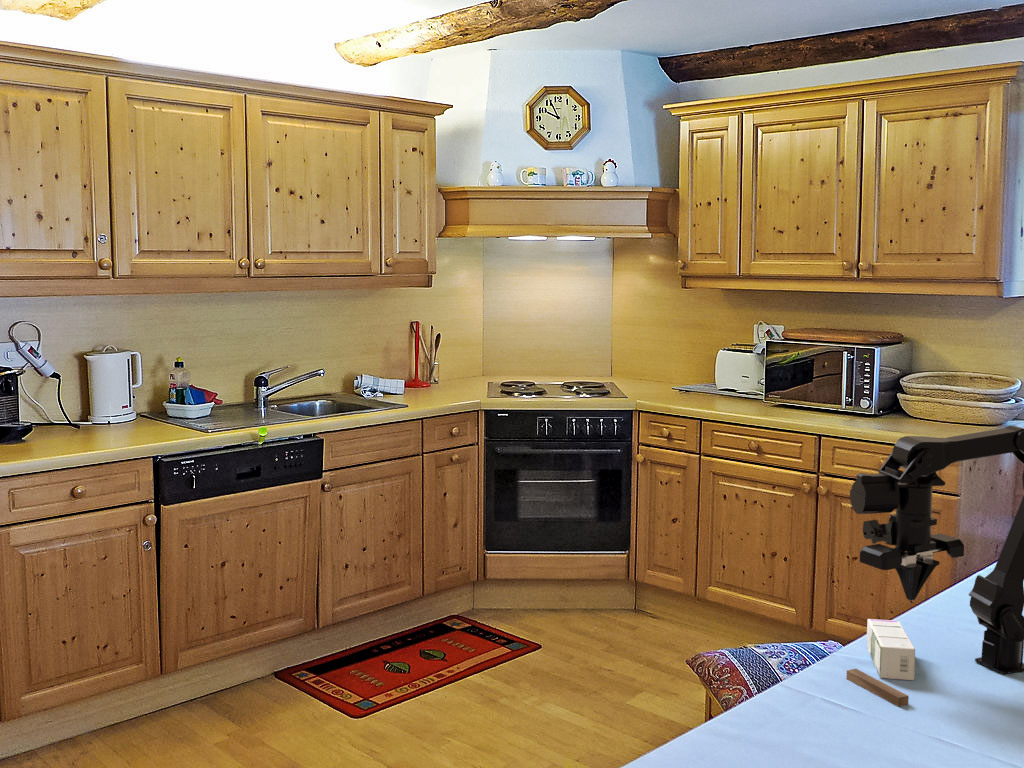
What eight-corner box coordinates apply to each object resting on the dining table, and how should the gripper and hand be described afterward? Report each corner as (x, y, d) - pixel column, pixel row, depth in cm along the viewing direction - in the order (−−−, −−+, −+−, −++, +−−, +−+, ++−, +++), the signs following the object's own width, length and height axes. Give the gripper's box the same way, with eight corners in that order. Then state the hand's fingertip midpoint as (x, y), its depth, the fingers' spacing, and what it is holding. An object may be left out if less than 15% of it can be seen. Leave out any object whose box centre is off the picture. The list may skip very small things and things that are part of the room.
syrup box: (916, 648, 175) (901, 619, 189) (879, 646, 176) (867, 617, 190) (914, 681, 175) (899, 650, 189) (878, 678, 176) (865, 647, 190)
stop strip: (855, 677, 177) (856, 668, 177) (908, 704, 166) (908, 695, 166) (846, 678, 176) (846, 670, 176) (898, 706, 165) (899, 697, 165)
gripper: (917, 495, 188) (915, 579, 190) (837, 507, 180) (835, 594, 182) (968, 508, 178) (964, 596, 180) (885, 521, 170) (882, 613, 172)
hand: (910, 599), depth 179 cm, fingers closed
